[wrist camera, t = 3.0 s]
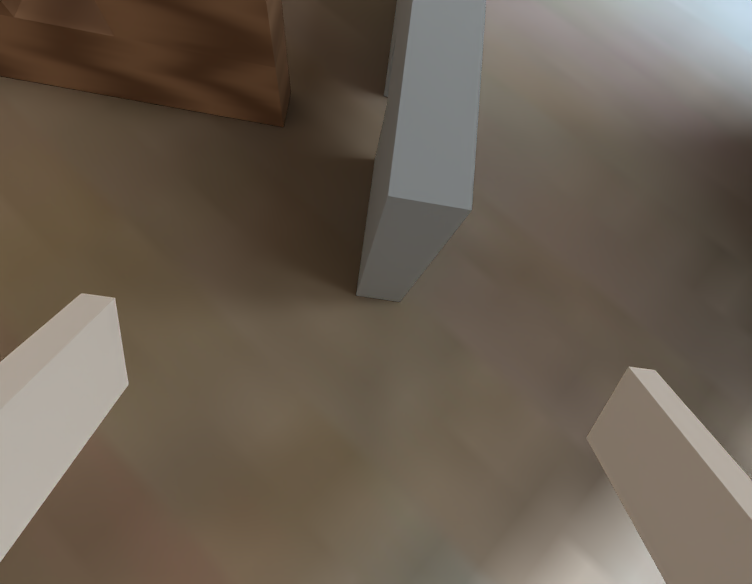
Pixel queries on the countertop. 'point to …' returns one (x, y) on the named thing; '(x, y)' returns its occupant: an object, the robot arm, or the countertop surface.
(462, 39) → the slate plate
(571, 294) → the countertop surface
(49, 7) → the walnut board
